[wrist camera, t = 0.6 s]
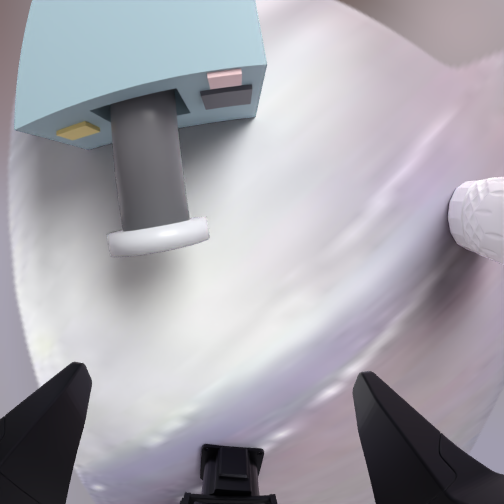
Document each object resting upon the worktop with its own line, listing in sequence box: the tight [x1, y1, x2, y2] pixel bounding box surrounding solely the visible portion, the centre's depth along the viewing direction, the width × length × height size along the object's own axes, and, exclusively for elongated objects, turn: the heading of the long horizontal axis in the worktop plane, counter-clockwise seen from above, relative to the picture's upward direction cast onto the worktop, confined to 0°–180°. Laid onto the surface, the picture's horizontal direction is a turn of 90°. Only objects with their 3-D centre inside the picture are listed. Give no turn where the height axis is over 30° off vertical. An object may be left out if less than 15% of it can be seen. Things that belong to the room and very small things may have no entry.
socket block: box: [14, 0, 267, 150], centre depth 16 cm, size 12×14×10 cm
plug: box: [107, 89, 210, 257], centre depth 16 cm, size 14×6×6 cm, turn 8°
